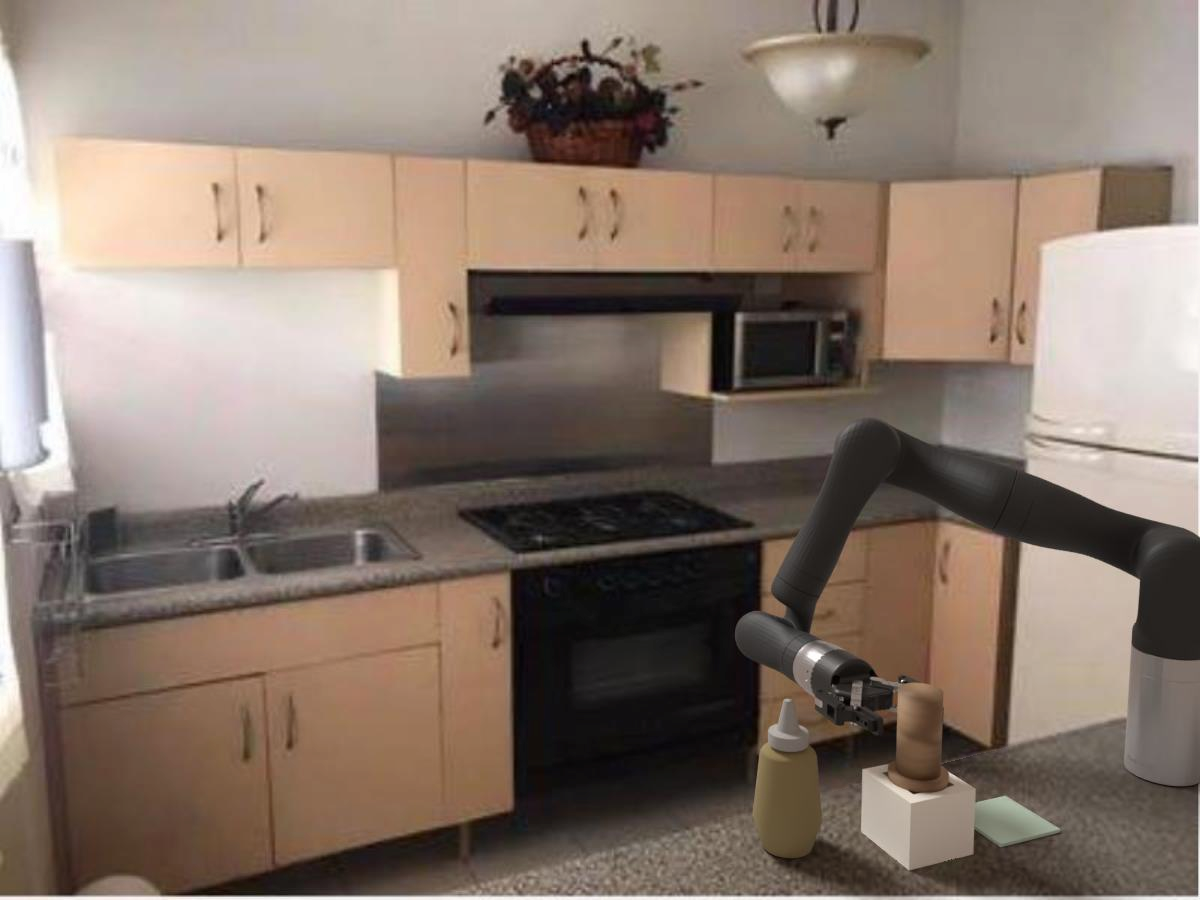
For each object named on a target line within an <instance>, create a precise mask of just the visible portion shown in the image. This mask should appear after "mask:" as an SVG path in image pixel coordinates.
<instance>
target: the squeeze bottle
mask: <svg viewBox="0 0 1200 900" xmlns="http://www.w3.org/2000/svg"><path fill="white" fill-rule="evenodd" d="M798 718H799V717H798V715H797V710H796V703H795V700H794V699H792V698H785V699H783V702H782V705H781V709H780V714H779V718H778V721H777V723H774V724H773V725H770V726H769V728H768V729H767V742H765V743H764V744H763V745H762V746H761V748H760V749H759V755H758V764H757V772H756V773H757V775H756V782H755V788H754V789H755V790H754V799H753V807H752V819H753V821H754V825H755V827H756V831H757V834H758V836H759V837H758V838H759V839H760V842H761V846H762V847H763V849H764V850H765V851H766V852H767V853H769V854H771V855H773V856H774V857H780V858H783V859H799V858H803V857H805V856H807V855H808V854H810V853H811V851H812V850H813V847H814V845H815V842H816V839H817V837H818V834H819V831H820V829H821V826H822V824H823V811H822V799H821V789H820V777H819V767H818V766H819V765H818V764H819V763H818V755H817V753H816V751H815V749H814V748H813V747H812V746H811V745H810V743H809V742H810V741H809V740H810V733H809V730H808V729H807V728H806V727H804V726H803V725H801V724H800V723H799V719H798Z"/></svg>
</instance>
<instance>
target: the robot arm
mask: <svg viewBox="0 0 1200 900" xmlns="http://www.w3.org/2000/svg"><path fill="white" fill-rule="evenodd" d="M833 446H834V447H833V452H832V455H831V456H832V457H831V459H830V463H829V464H828V465H829V466H828V470H827V472H826V475H825V477H824V478H825V479H824V481H823V484H822V487H821V489H820V491H819V494H818V496H817V498H816V500H815V503H813V504H814V505H813V507H811V510H810V512H809V514H808V515H807V518H806V519H805V521H804V522H803V525H802V527H801V528H800V530H799V532H798V533H797V535H796V537H795V538H794V540H793V542H792V543H791V545H790V547H789V549H788V551H787V553H786V555H785V557H784V559H783V561H782V563H781V565H780V567H779V569H778V570H777V572H776V574H775V577H774V579H773V581H772V583H771V586H770V592H771V594H772V596H773V597H774V598H775V599H776V600H777V601H778V602H779V603H781V604H782V605H783V606H785V613H784V616H783V617H780V616H777V615H776V614H775V615H774V614H772V613H768V612H765V611H762V610H752V611H749V612H747V613H746V614H744V615H743V616H742V617H741V618H740V619H739V620H738V621H737V624H736V626H735V632H734V639H735V642H736V643H735V644H736V647H738V650H739V651H740V652H741V653H742V654H743V656H745V657H746V658H748V659H750V660H751V661H753V662H756V663H758V664H761V665H762V666H765V667H767V668H770V669H772V670H775V671H776V672H779V673H780V674H782V675H783V676H785V677H786V678H787V679H789V680H790V681H792V682H794V683H795V684H796V685H798V686H799V687H802V690H804V691H805V692H806V693H808V694H809V695H810V696H812V697H813V698H814V710H816V711H817V712H818V713H819V714H821V715H822V716H823V717H824V718H825V719H827V720H828V721H830V722H831V723H832V724H834V725H835V726H838V727H842V726H845V723H846V722H847V723H850V725H852V726H859V727H861V728H862V729H864V730H866V731H867V732H870V733H871V734H873V735H875V736H881V735H884V718H883V717H882V716H881V715H879V714H878V713H876V712H880V711H886V712H892V713H897V709H898V704H894V693H897V694H898V687H899V686H900V685H902V684H906V683H922V682H920V681H919V680H917V679H914V678H912V677H911V676H908V675H906V674H899V675H898V678H897V681H894V682H893V681H889V680H888V679H884V678H882V677H879V676H878V674H877V673H876V671H875V669H874V667H873V666H872V665H871V664H870V663H869V662H868V661H866V660H864V659H862V658H860V657H859V656H857V655H855V654H853V653H851V652H850V651H848V650H846V649H844V648H842V647H841V646H838V645H836V644H834V643H830V642H827V641H825V640H823V639H821V638H820V637H818V636H816V635H814V634H812V633H811V630H812V629H811V628H812V624H813V620H814V615H815V610H816V608H817V607H816V606H817V604H818V601H819V600H820V598H821V596H822V594H823V592H824V590H825V588H826V586H827V584H828V582H829V580H830V578H831V577H832V574H833V572H834V570H835V569H836V565H837V563H838V562H839V559H840V557H841V555H842V552H843V549H844V548H845V545H846V542H847V540H848V538H849V536H850V533H851V531H852V529H853V527H854V526H855V523H856V522H857V519H858V518H859V516H860V515H861V513H862V511H863V509H864V508H865V506H866V505H867V503H868V502H869V500H870V499H871V497H872V496H873V494H874V493H875V492H876V491H877V489H878V488H879V487H880V485H881V484H886V485H888V486H893V487H896V488H899V489H902V490H905V491H908V492H912V493H915V494H917V495H920V496H923V497H925V498H927V499H929V500H931V501H933V502H935V503H937V505H940V506H942V507H943V508H945V509H947V510H949V511H950V512H952V513H953V514H956V515H957V516H960V517H962V518H963V519H965V520H967V521H969V522H972V524H975V525H978V526H980V527H983V528H984V529H986V530H988V531H992V532H993V533H997V534H999V535H1002V536H1005V537H1007V538H1010V539H1011V540H1012V539H1013V540H1014V541H1018V542H1020V543H1024V544H1028V545H1031V546H1036V547H1039V548H1045V549H1050V550H1056V551H1063V552H1068V553H1075V554H1078V555H1084V556H1086V557H1090V558H1091V559H1095V560H1098V561H1099V562H1103V563H1105V564H1107V565H1110V566H1111V567H1114V568H1117V570H1120V571H1122V572H1124V573H1125V574H1128V575H1130V576H1132V577H1134V578H1135V579H1137V580H1139V589H1138V590H1139V592H1138V603H1137V604H1138V605H1137V615H1136V620H1135V622H1134V623H1133V625H1132V630H1131V642H1130V643H1131V645H1130V647H1131V648H1130V658H1129V659H1130V662H1129V680H1128V693H1127V694H1128V695H1127V696H1128V697H1127V710H1126V726H1125V739H1124V741H1125V742H1124V754H1123V755H1124V756H1123V757H1124V758H1123V764H1124V767H1125V769H1126V770H1127V771H1128V772H1130V773H1131V774H1133V775H1135V776H1136V777H1138V778H1141V779H1142V780H1146V781H1148V782H1152V783H1155V784H1160V785H1165V786H1171V787H1173V786H1174V787H1187V786H1188V787H1189V786H1194V785H1197V784H1200V536H1199V535H1198V534H1196V533H1194V531H1192V530H1190V529H1187V528H1184V527H1181V526H1177V525H1173V524H1168V523H1165V522H1160V521H1157V520H1153V519H1149V518H1145V517H1143V516H1142V517H1141V516H1137V515H1134V514H1131V513H1126V512H1123V511H1120V510H1116V509H1113V508H1111V507H1108V506H1105V505H1103V504H1102V503H1098V502H1097V501H1094V500H1092V499H1091V498H1088V497H1087V496H1084V495H1082V494H1080V493H1077V492H1075V491H1073V490H1072V489H1071V490H1070V489H1069V488H1066V487H1064V486H1061V485H1059V484H1057V483H1054V482H1051V481H1049V480H1047V479H1044V478H1043V477H1039V476H1037V475H1034V474H1031V473H1028V472H1026V471H1023V470H1020V469H1017V468H1015V467H1011V466H1008V465H1004V464H1003V463H998V462H996V461H995V462H994V461H991V460H988V459H985V458H984V459H983V458H981V457H975V456H972V455H969V454H963V453H959V452H954V451H952V450H951V451H950V450H947V449H944V448H941V447H938V446H935V445H933V444H931V443H928V442H926V441H924V440H922V439H919V438H918V437H916V436H913V435H911V434H908V433H907V432H905V431H902V430H901V429H899V428H896V427H895V426H893V425H892V424H890V423H888V422H887V421H885V420H882V419H880V418H875V417H861V418H857V419H854V420H852V421H849V423H847V424H846V425H845V426H844V427H842V428H841V430H840V431H839V433H838V434H837V436H836V438H835V441H834V445H833ZM944 712H945V711H944V706H943V716H944V714H945V713H944ZM943 722H944V720H943V721H942V724H943Z"/></svg>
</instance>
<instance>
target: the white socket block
mask: <svg viewBox="0 0 1200 900" xmlns="http://www.w3.org/2000/svg"><path fill="white" fill-rule="evenodd" d="M889 764H890V763H887V764H881V765H877V766H872V767H867V768H862V770H861V771H862V773H861V774H862V775H861V776H862V777H861V779H862V781H861V813H860V815H861V817H860V818H861V819H860V824H861V825H860V832H861V833H862V834H863V835H864V836H865V835H866V836H865V837H866V838H868V839H869V840H871V841H872V842H873V843H874V844H875V845H877V846H878V847H879V848H880V849H882V850H883V851H884V852H885V853H886V854H888V855H889V856H890V857H891V858H892V859H894V860H895V861H896V860H897V861H896V862H897V863H899V864H900V865H902V867H904V868H905V869H906V870H908V871H912V870H916V869H921V868H924V867H928V866H932V865H936V864H941V863H945V862H948V860H949V861H952V860H956V859H960V858H964V857H968V856H971V855H974V847H975V839H974V838H975V829H974V822H975V803H976V794H977V793H976V792H977V789H976V788H975V787H973V786H972V785H970V784H969V783H967V782H966V781H964V780H962V779H961V778H959V777H958V776H956V775H954V774H953V773H951V772H950V771H948V773H949V784H948V786H947V788H945V789H944V790H942V791H938V792H933V793H918V794H912V793H911V792H909V791H908V790H905V789H902V788H900V787H898V786H896V785H894V784H893V783H892V782H891V781H890V780H889V779H888V765H889ZM955 858H956V859H955ZM951 859H952V860H951ZM944 861H945V862H944Z"/></svg>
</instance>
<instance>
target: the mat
mask: <svg viewBox="0 0 1200 900" xmlns="http://www.w3.org/2000/svg"><path fill="white" fill-rule="evenodd" d="M974 831H976V832H977V833H979V834H981V835H982V836H983V837H985V838H986V839H988V840H989V841H990V842H992V843H993V844H995V845H997V846H998V847H1000V848H1004V847H1008V846H1011V845H1012V846H1013V845H1015V844H1020V843H1023V842H1027V841H1031V840H1035V839H1039V838H1043V837H1047V836H1052V835H1055V834H1060V833H1061V828H1059V827H1057V826H1056V825H1054V824H1053V823H1051V822H1049V821H1047V820H1046V819H1044V818H1043V817H1041V816H1039V815H1038V814H1036V813H1034V812H1033V811H1031V810H1030V809H1028V808H1026V807H1025V806H1023V805H1022V804H1020V803H1018V802H1016V801H1015V800H1014V799H1011V798H1010V797H1008V796H1007V795H1002V796H998V797H993V798H989V799H985V800H980V801H977V802H976V801H975V822H974Z"/></svg>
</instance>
